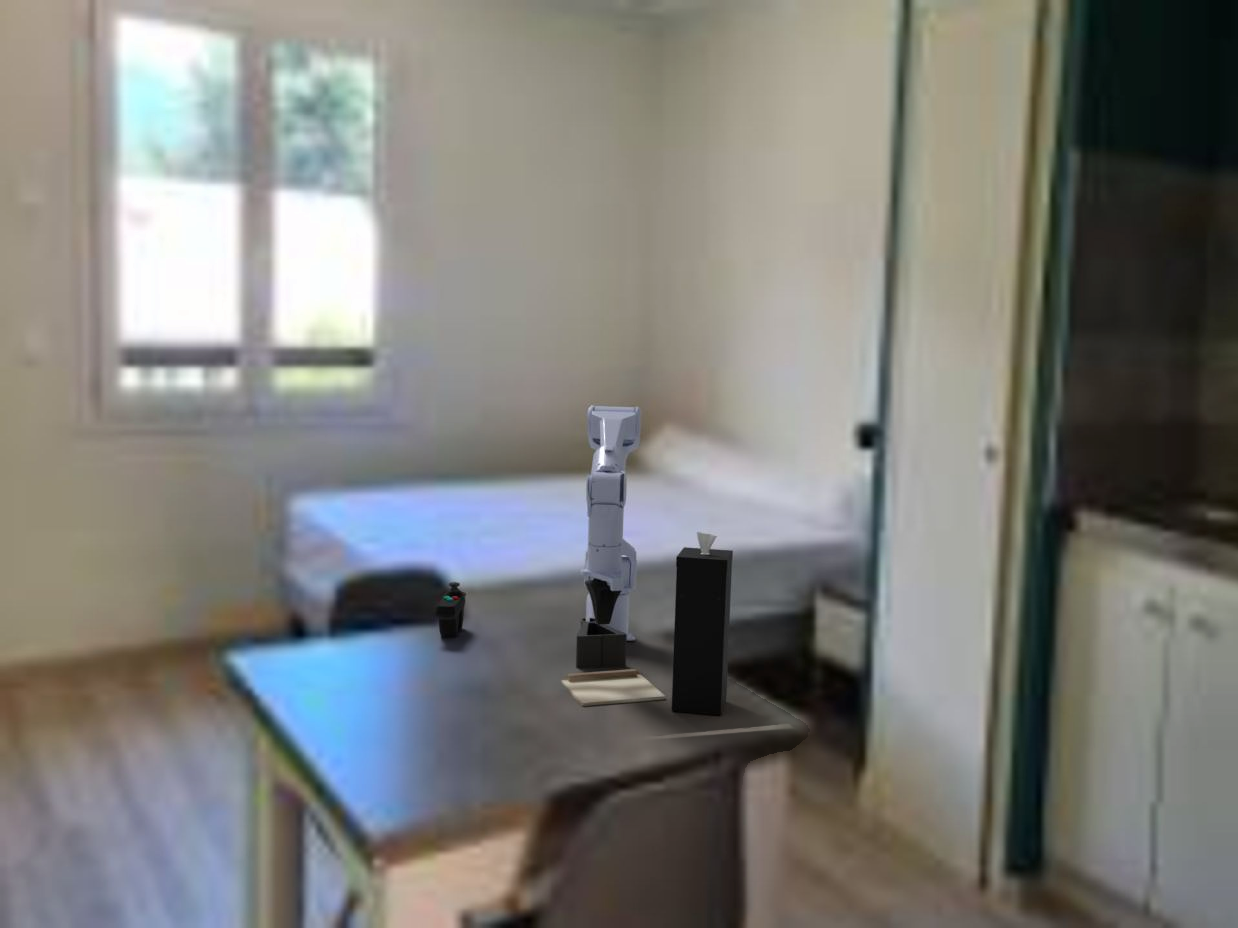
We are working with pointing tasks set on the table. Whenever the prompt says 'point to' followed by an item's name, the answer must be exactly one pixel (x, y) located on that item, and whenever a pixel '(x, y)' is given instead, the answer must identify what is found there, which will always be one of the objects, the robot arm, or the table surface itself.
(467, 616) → the table surface
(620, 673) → the book stand
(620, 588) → the robot arm
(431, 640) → the table surface
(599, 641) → the dark grey open container
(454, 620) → the controller
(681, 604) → the tissue box
